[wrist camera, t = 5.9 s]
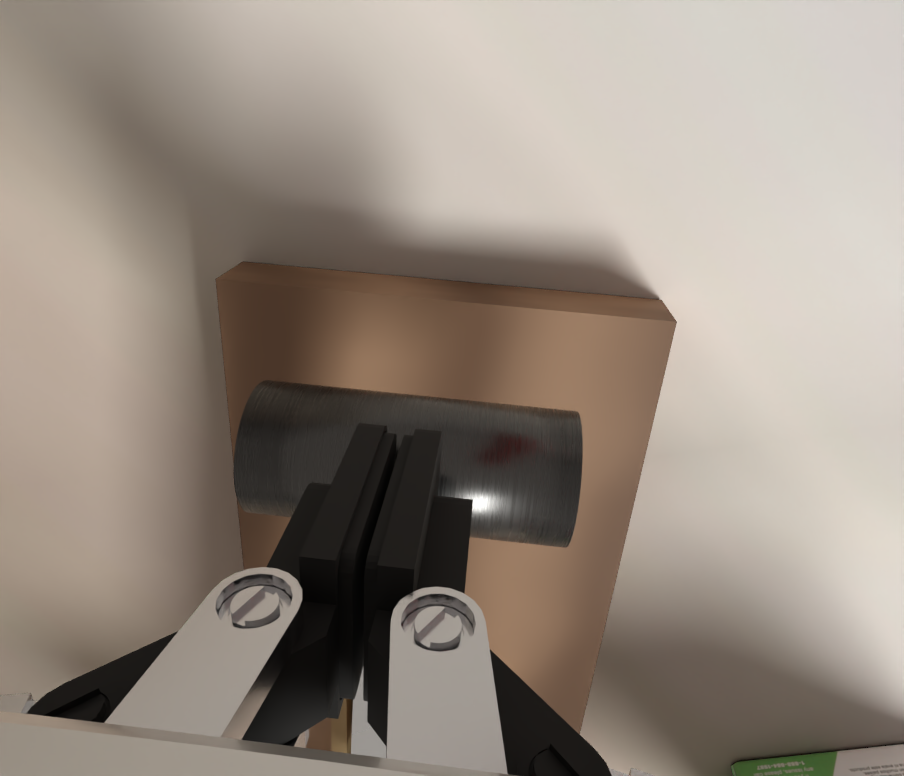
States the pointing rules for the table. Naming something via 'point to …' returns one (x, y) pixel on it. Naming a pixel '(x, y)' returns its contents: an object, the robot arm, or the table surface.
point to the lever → (462, 458)
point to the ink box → (829, 763)
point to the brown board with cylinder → (477, 379)
